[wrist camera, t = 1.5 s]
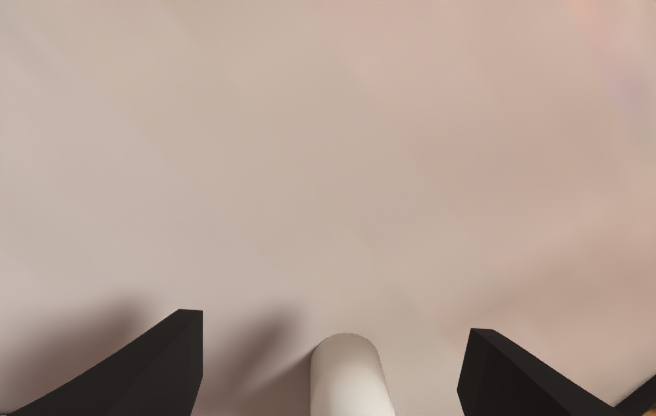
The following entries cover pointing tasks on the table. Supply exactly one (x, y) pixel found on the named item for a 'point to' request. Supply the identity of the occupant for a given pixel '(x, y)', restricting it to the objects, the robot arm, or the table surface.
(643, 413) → the ammunition clip
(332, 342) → the white rounded egg shape
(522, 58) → the table surface
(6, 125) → the table surface
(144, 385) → the robot arm
